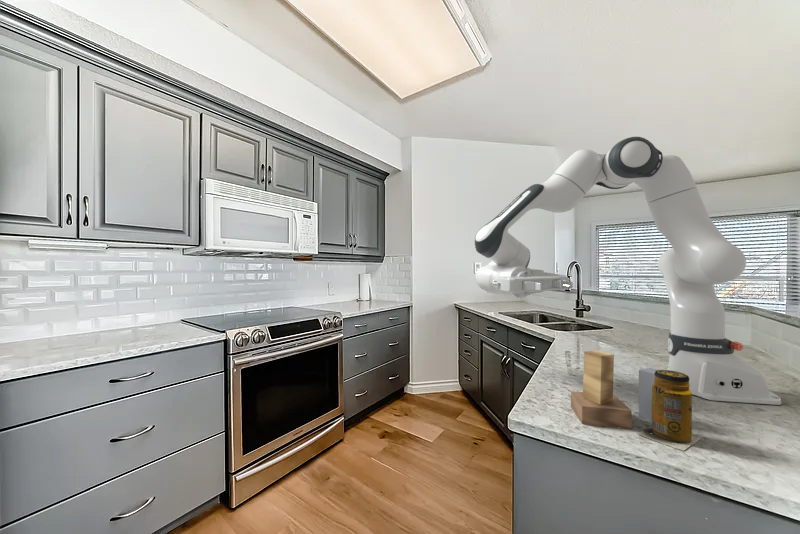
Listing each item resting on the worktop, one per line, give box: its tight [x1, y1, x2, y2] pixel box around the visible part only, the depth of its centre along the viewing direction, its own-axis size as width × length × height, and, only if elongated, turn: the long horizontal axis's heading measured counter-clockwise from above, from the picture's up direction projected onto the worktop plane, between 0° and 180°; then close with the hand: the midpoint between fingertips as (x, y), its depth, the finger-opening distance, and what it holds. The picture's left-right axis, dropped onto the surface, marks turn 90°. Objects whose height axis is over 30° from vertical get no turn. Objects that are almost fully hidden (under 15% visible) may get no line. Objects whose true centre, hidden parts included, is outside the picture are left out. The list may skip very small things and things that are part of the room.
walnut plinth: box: [570, 391, 633, 430], centre depth 75 cm, size 9×9×4 cm
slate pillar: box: [638, 367, 658, 422], centre depth 74 cm, size 4×4×10 cm
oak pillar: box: [582, 349, 615, 404], centre depth 75 cm, size 4×4×10 cm
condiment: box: [636, 369, 701, 452], centre depth 66 cm, size 7×8×12 cm
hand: (557, 285), depth 86 cm, fingers open, 8 cm apart
